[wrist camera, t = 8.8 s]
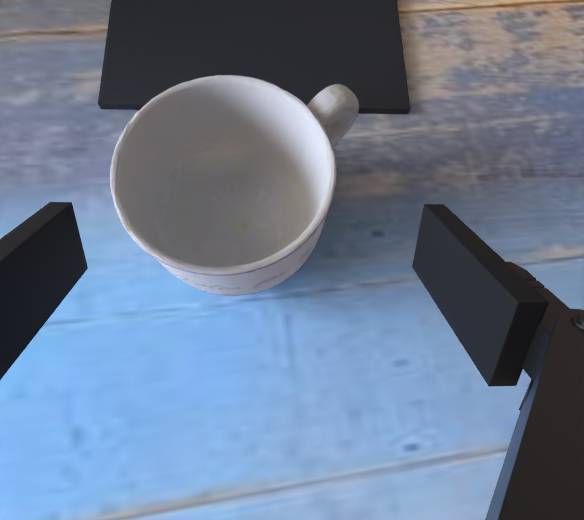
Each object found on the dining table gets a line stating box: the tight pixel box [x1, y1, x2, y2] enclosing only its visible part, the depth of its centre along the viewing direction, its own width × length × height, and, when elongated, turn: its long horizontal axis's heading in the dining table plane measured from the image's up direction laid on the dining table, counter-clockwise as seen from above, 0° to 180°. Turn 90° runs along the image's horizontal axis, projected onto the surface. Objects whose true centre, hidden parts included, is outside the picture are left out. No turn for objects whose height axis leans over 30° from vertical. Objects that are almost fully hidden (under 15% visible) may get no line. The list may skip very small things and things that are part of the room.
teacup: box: [110, 75, 359, 296], centre depth 23 cm, size 14×11×8 cm
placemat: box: [98, 0, 410, 114], centre depth 32 cm, size 22×20×1 cm
